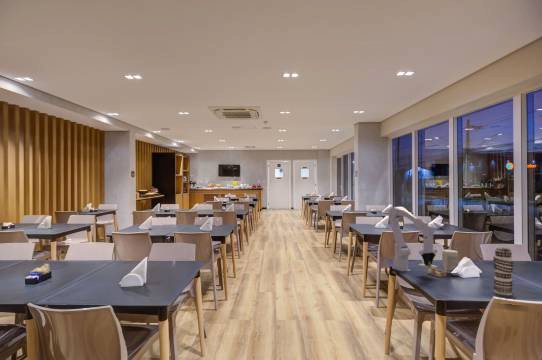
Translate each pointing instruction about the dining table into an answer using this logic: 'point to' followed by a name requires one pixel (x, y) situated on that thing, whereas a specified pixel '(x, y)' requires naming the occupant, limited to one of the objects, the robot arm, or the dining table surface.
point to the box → (432, 272)
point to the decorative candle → (503, 271)
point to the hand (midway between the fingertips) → (428, 264)
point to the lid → (428, 265)
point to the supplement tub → (449, 260)
